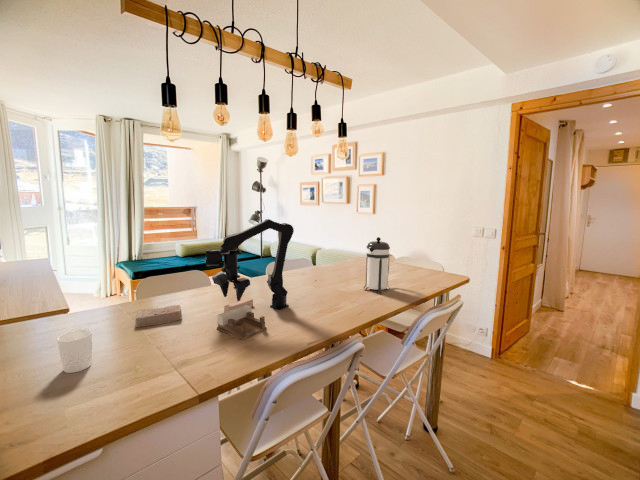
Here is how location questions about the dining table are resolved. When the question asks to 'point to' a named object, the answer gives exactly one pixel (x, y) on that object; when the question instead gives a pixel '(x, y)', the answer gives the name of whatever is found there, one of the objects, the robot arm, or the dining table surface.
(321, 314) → the dining table surface
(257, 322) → the rack
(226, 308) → the clay strip
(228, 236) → the robot arm
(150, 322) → the brick
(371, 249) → the coffee press
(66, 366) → the white cup
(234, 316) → the strip
